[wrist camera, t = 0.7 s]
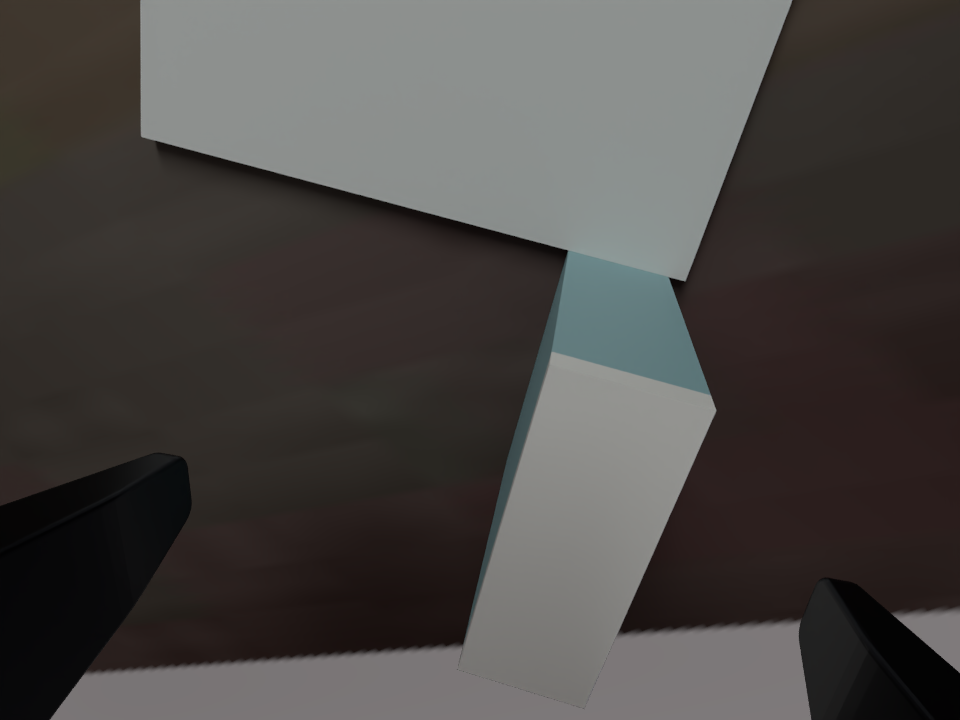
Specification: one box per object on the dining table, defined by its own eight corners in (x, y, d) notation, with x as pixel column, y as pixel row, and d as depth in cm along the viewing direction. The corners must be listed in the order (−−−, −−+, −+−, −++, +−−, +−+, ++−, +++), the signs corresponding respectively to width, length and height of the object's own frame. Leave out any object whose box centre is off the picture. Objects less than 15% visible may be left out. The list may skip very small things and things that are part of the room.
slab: (666, 271, 19) (715, 410, 11) (588, 483, 23) (584, 708, 15) (569, 245, 20) (549, 364, 11) (506, 460, 23) (457, 669, 15)
